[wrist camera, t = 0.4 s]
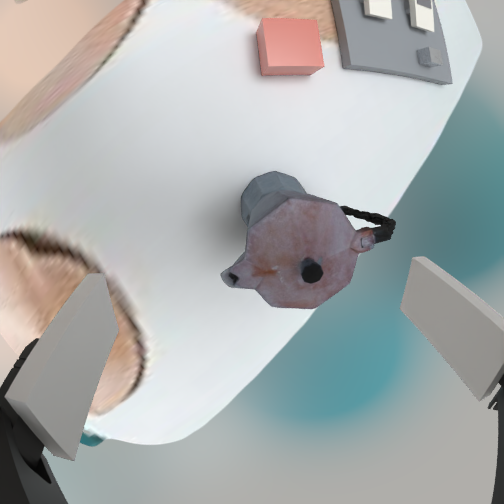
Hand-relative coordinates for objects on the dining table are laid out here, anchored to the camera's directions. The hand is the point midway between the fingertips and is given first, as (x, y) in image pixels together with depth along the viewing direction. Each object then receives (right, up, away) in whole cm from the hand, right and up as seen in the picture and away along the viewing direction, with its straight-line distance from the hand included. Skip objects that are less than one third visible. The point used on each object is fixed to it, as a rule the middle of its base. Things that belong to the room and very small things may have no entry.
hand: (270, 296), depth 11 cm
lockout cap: (+3, +27, +18) cm, 33 cm away
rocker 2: (+24, +36, +12) cm, 45 cm away
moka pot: (+2, +8, +26) cm, 27 cm away
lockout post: (+24, +30, +17) cm, 42 cm away
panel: (+20, +35, +17) cm, 44 cm away
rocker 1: (+16, +35, +11) cm, 40 cm away
